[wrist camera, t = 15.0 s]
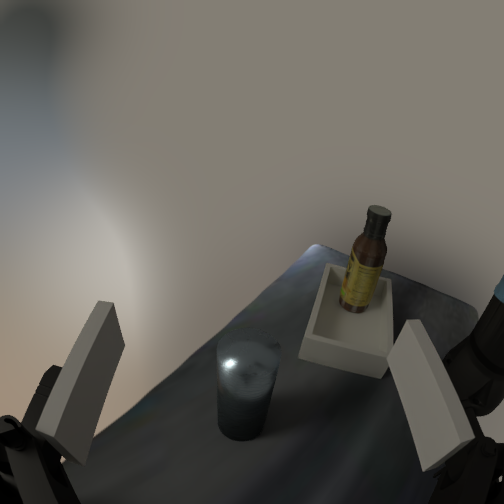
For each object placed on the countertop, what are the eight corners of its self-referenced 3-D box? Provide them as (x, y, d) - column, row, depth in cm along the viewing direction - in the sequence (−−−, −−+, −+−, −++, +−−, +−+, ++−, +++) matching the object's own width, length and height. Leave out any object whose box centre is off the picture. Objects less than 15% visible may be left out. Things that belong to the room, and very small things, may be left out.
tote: (321, 282, 63) (326, 262, 61) (383, 298, 60) (391, 279, 57) (297, 358, 45) (303, 336, 43) (380, 378, 42) (393, 358, 39)
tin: (259, 401, 38) (273, 325, 30) (268, 438, 33) (288, 372, 25) (215, 404, 37) (214, 329, 29) (220, 443, 32) (220, 378, 24)
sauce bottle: (344, 290, 60) (369, 198, 50) (371, 302, 57) (402, 210, 47) (331, 306, 55) (357, 207, 45) (360, 320, 52) (394, 220, 42)
